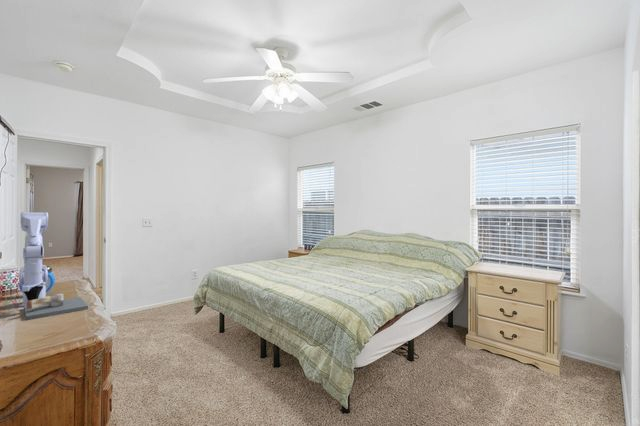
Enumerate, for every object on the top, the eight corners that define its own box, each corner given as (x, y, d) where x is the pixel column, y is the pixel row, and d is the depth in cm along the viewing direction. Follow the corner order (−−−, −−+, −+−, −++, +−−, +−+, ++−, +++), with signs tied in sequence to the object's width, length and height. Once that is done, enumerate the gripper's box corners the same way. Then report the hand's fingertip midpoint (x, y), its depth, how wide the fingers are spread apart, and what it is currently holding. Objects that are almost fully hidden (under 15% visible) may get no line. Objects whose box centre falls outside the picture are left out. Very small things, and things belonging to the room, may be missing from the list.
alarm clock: (18, 298, 151) (18, 268, 151) (21, 295, 156) (21, 266, 156) (53, 294, 158) (53, 266, 158) (54, 292, 164) (55, 264, 164)
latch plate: (23, 308, 135) (23, 305, 135) (80, 299, 150) (80, 296, 150) (26, 320, 122) (26, 316, 122) (87, 309, 136) (87, 305, 136)
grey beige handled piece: (58, 302, 139) (58, 293, 139) (65, 303, 137) (66, 294, 137) (23, 311, 126) (23, 300, 126) (30, 312, 125) (31, 302, 125)
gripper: (37, 275, 127) (37, 307, 127) (51, 269, 141) (51, 298, 141) (15, 276, 125) (15, 309, 124) (31, 270, 138) (31, 300, 138)
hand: (32, 303), depth 132 cm, fingers closed
